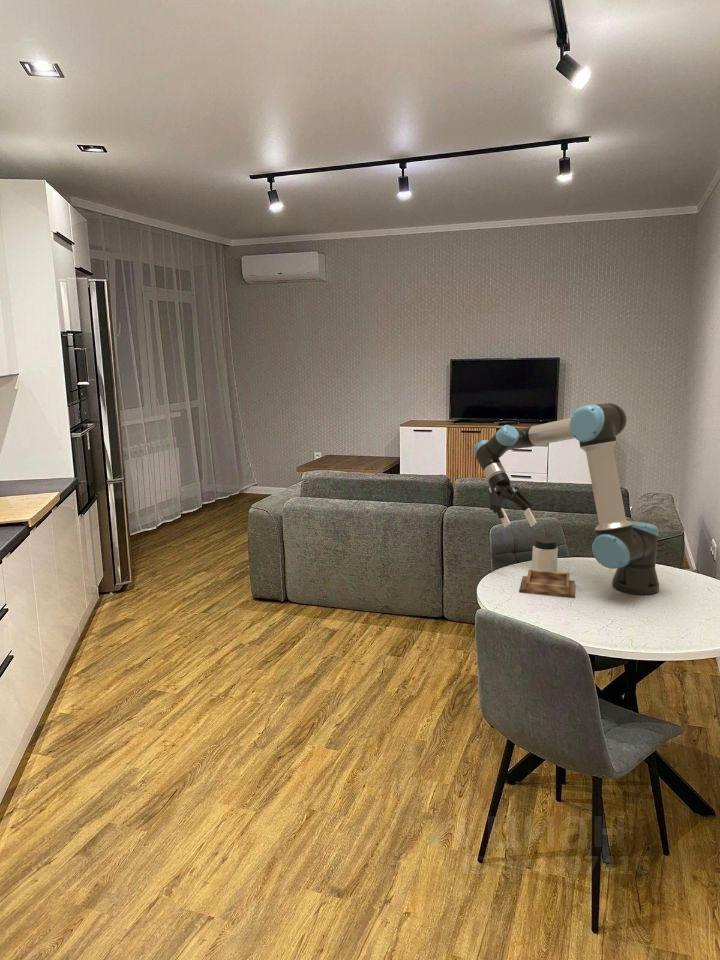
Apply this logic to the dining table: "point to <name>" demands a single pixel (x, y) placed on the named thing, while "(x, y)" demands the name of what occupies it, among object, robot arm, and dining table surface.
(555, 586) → the wooden tray
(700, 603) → the dining table surface
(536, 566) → the jar
